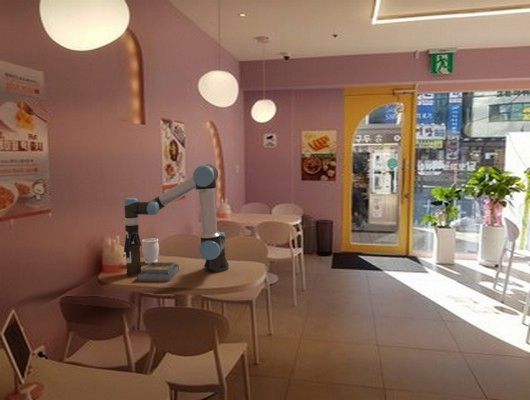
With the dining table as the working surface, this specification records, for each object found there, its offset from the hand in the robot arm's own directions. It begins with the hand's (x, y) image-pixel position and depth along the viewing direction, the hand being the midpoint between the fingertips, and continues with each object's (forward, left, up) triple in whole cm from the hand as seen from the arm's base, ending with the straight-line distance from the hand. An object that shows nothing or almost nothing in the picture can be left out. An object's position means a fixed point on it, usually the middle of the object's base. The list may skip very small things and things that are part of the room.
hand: (133, 259), depth 242 cm
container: (0, 0, -9) cm, 9 cm away
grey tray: (-16, +2, -9) cm, 19 cm away
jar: (-1, -27, -9) cm, 29 cm away
